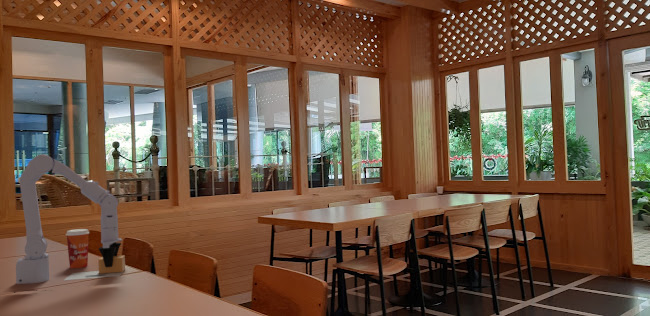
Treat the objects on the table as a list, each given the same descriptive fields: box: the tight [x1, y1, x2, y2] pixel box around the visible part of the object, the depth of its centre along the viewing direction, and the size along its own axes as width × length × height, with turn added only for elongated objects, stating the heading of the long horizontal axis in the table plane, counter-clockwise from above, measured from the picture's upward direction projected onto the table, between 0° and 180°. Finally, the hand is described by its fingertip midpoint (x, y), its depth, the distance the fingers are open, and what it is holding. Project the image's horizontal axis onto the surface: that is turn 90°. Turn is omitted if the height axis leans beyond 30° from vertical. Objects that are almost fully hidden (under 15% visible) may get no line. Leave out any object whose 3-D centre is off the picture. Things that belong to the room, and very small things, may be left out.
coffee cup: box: [65, 228, 90, 269], centre depth 196 cm, size 8×8×15 cm
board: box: [63, 270, 125, 281], centre depth 181 cm, size 18×12×1 cm, turn 102°
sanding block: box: [98, 255, 126, 274], centre depth 185 cm, size 8×5×5 cm, turn 101°
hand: (110, 264), depth 185 cm, fingers open, 6 cm apart
